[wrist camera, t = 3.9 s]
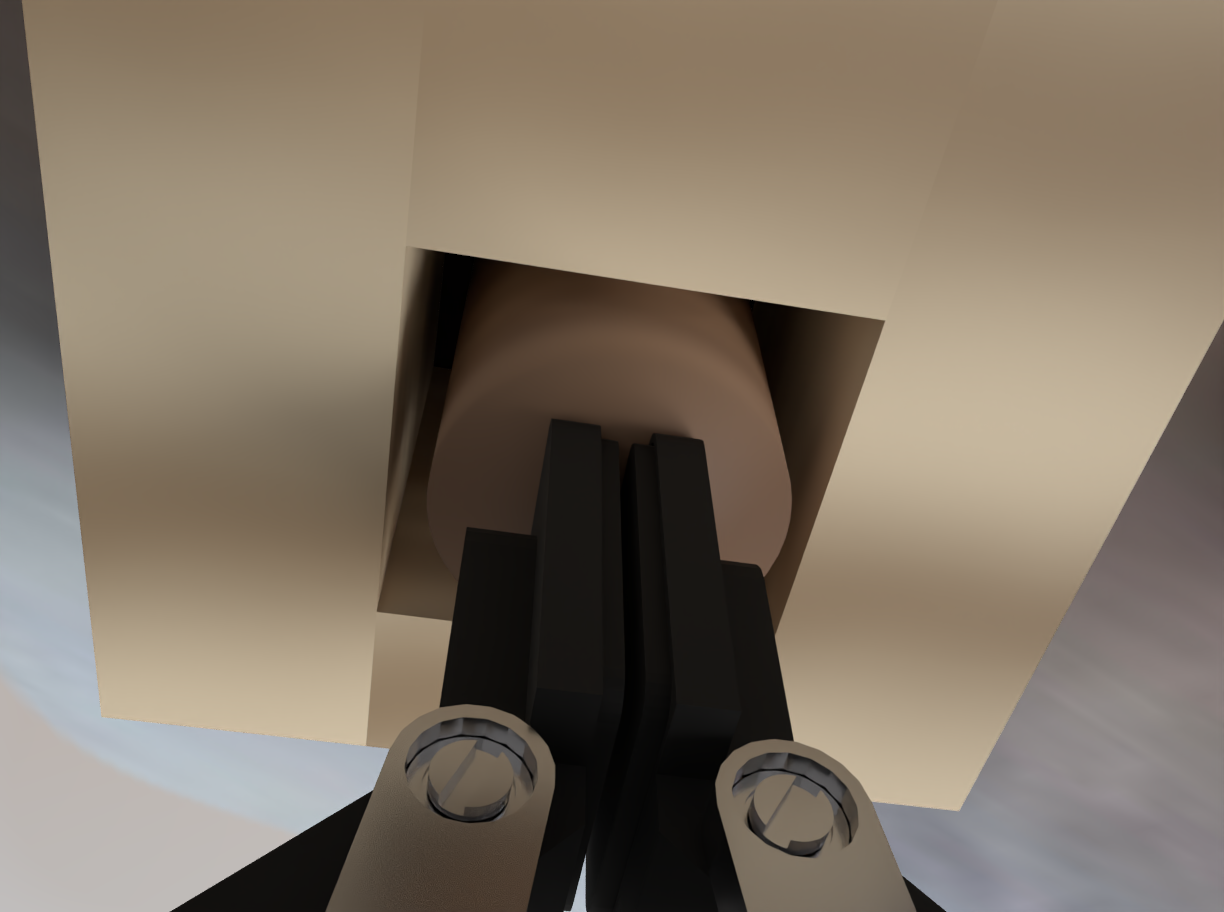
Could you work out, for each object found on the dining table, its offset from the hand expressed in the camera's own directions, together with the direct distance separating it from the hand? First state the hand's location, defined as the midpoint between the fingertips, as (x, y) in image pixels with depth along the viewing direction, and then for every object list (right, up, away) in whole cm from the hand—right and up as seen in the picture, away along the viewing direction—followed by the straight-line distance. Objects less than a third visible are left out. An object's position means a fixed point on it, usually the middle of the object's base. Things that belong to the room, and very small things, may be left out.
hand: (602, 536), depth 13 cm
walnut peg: (0, +4, +5) cm, 6 cm away
